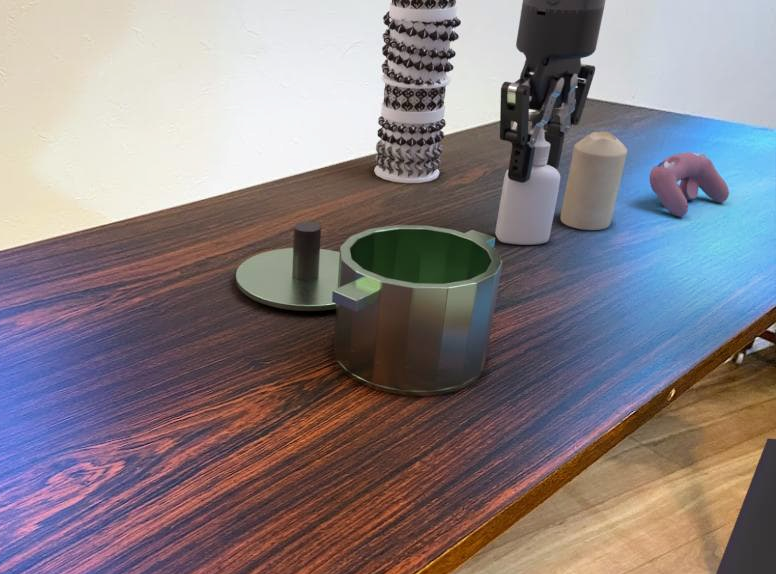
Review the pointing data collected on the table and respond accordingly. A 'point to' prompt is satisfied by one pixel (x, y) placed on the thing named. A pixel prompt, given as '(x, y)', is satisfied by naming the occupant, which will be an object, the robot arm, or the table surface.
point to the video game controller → (686, 181)
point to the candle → (593, 181)
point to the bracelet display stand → (415, 88)
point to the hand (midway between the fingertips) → (532, 173)
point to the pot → (415, 308)
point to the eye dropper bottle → (529, 201)
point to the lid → (293, 273)
